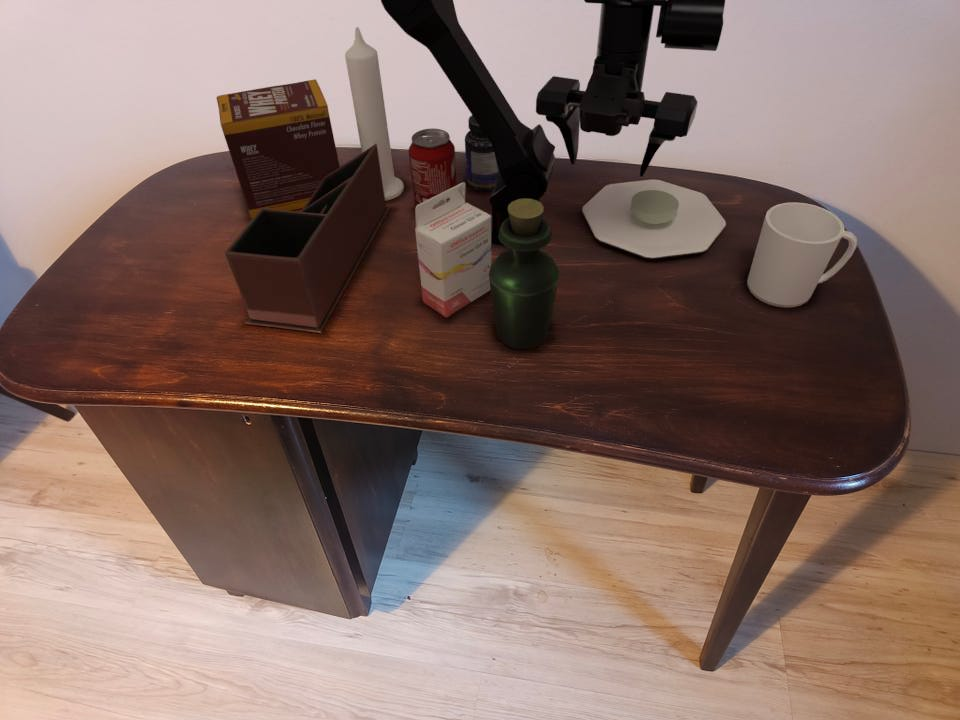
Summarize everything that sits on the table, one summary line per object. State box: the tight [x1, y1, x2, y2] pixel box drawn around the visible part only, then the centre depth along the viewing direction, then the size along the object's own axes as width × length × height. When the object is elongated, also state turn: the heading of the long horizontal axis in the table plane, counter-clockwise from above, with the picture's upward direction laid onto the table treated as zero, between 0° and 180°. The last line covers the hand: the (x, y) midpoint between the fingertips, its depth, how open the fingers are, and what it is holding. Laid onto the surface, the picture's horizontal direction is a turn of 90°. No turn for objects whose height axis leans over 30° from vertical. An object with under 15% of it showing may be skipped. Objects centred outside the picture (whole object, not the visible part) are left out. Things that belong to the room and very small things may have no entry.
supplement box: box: [215, 78, 340, 219], centre depth 99 cm, size 10×15×16 cm
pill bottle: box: [464, 114, 500, 193], centre depth 101 cm, size 6×6×11 cm
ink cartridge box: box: [414, 182, 492, 319], centre depth 80 cm, size 9×5×15 cm, turn 134°
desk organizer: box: [224, 144, 392, 334], centre depth 87 cm, size 10×29×11 cm, turn 168°
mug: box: [746, 201, 858, 309], centre depth 80 cm, size 11×9×10 cm
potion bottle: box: [489, 199, 560, 351], centre depth 73 cm, size 8×8×18 cm
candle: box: [344, 26, 405, 202], centre depth 96 cm, size 7×7×25 cm
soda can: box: [408, 128, 458, 210], centre depth 96 cm, size 7×7×12 cm
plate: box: [581, 179, 727, 260], centre depth 95 cm, size 20×20×2 cm
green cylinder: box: [630, 190, 679, 224], centre depth 94 cm, size 7×7×2 cm
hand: (607, 169), depth 84 cm, fingers open, 9 cm apart
